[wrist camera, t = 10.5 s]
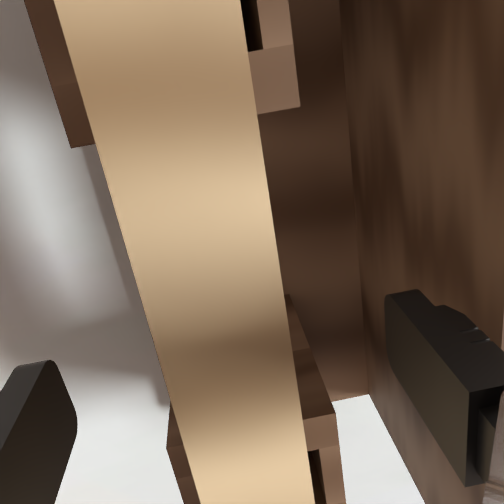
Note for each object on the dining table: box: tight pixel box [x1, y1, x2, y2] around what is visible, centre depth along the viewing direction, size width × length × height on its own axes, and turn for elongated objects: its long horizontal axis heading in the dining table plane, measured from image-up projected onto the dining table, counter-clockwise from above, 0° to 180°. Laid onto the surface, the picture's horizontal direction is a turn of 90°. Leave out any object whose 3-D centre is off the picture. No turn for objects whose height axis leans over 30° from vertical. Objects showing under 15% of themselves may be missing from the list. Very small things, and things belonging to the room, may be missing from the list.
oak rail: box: [54, 0, 315, 504], centre depth 14 cm, size 18×3×8 cm, turn 9°
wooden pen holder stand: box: [24, 0, 504, 504], centre depth 17 cm, size 26×12×14 cm, turn 9°
